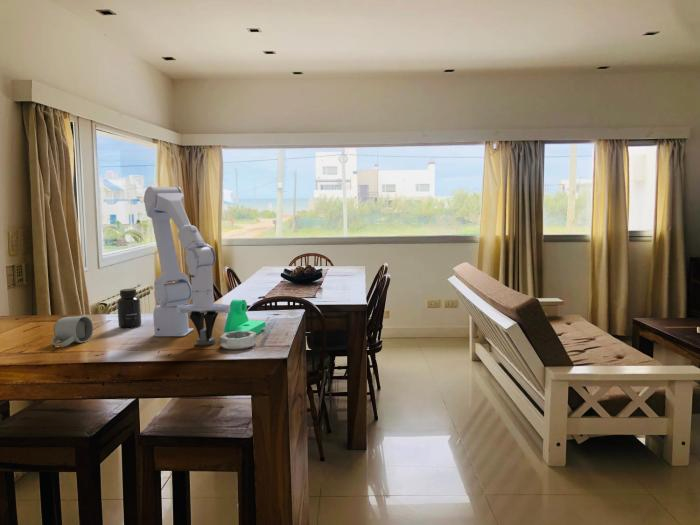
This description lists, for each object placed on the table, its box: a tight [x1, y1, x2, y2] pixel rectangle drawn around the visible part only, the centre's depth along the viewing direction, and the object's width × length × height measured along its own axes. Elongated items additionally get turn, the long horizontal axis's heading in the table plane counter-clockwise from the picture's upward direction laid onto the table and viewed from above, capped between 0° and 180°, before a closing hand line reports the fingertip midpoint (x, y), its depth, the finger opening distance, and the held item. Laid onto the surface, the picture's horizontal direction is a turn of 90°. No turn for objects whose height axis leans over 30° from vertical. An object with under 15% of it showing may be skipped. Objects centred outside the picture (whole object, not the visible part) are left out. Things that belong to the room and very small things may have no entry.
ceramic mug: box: [51, 315, 94, 347], centre depth 157 cm, size 11×8×8 cm
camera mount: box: [223, 298, 267, 335], centre depth 163 cm, size 12×8×10 cm, turn 162°
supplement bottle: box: [116, 288, 142, 330], centre depth 175 cm, size 7×7×12 cm
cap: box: [195, 326, 216, 347], centre depth 153 cm, size 5×5×4 cm
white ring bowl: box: [219, 331, 257, 351], centre depth 150 cm, size 9×9×3 cm
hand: (205, 337), depth 153 cm, fingers closed on cap
